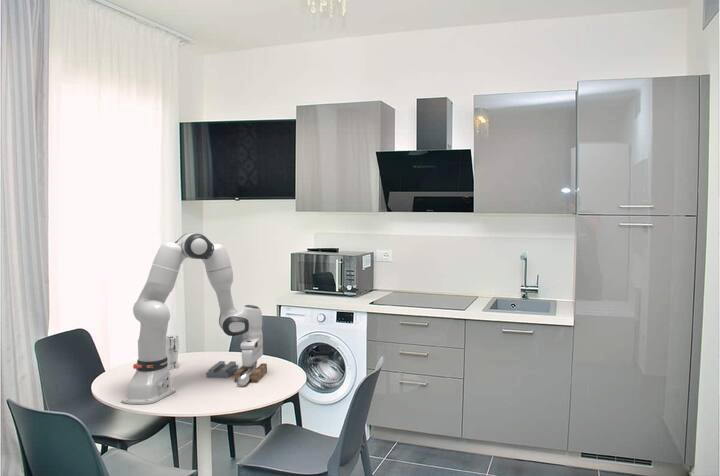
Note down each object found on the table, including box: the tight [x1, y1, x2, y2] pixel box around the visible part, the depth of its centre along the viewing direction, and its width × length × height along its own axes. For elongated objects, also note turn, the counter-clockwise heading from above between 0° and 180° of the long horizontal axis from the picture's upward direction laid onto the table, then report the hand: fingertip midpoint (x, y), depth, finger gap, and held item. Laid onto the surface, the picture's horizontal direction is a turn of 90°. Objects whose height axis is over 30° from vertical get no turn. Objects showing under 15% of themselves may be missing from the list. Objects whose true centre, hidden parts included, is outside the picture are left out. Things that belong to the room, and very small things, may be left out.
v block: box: [206, 360, 239, 379], centre depth 259 cm, size 14×10×4 cm
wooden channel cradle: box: [233, 362, 268, 384], centre depth 252 cm, size 16×10×5 cm, turn 174°
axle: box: [235, 367, 257, 388], centre depth 246 cm, size 16×4×4 cm, turn 173°
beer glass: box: [166, 334, 180, 370], centre depth 272 cm, size 7×7×15 cm
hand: (253, 370), depth 256 cm, fingers closed
